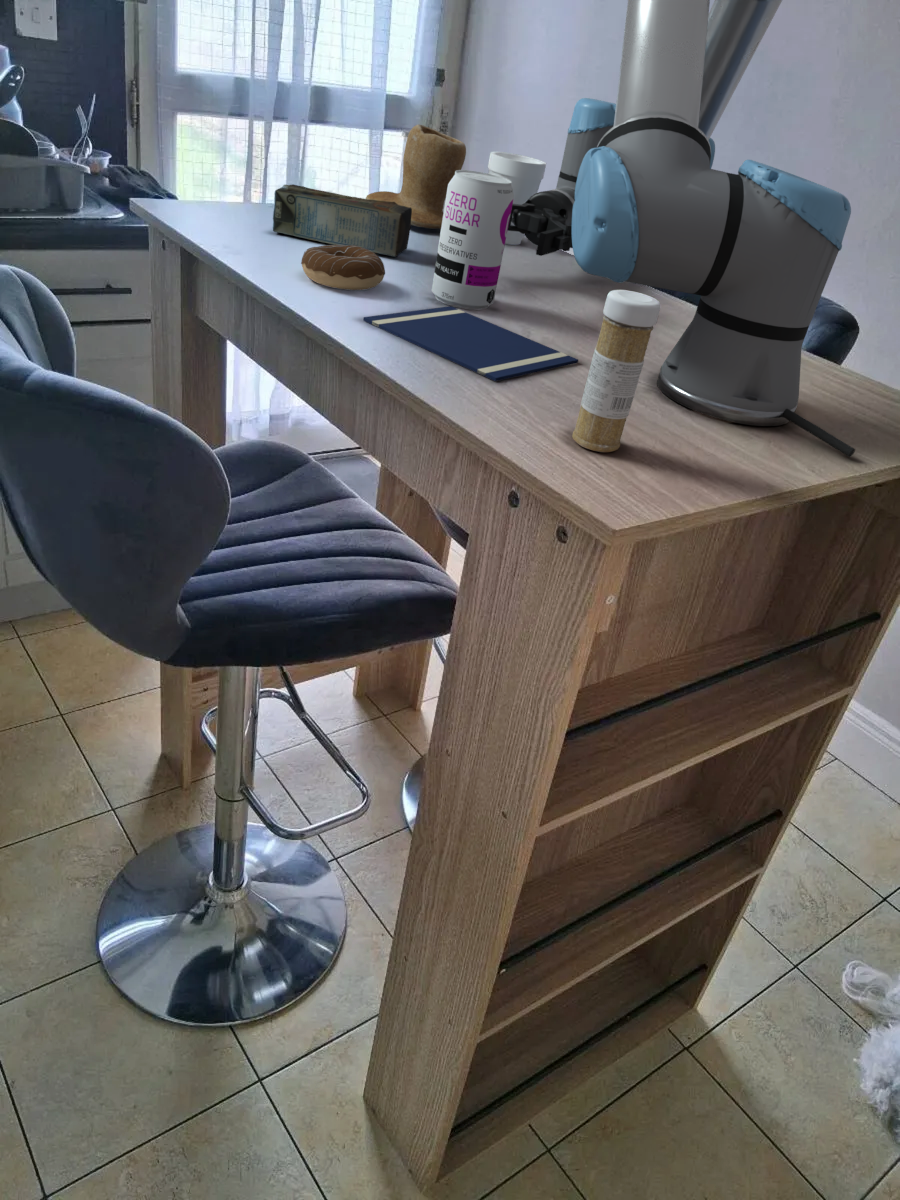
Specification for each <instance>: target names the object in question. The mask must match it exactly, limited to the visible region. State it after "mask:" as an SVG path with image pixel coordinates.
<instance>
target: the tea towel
mask: <svg viewBox="0 0 900 1200" xmlns="http://www.w3.org/2000/svg"><path fill="white" fill-rule="evenodd" d="M362 319H363V322H365V323H368V324H370V325H372V326H374V327H376V328H379V329H380V330H383V331H385V332H387V333H389V334H392V335H393V336H396V337H398V338H400V339H402V340H404V341H407V342H409V343H411V344H412V345H413V344H414V345H415V346H418V347H420V348H422V349H424V350H425V351H428V352H431V353H433V354H435V355H437V356H439V357H442V358H443V359H445V360H448V361H450V362H452V363H455V364H457V365H459V366H461V367H464V369H468V370H470V371H472V372H473V373H476V374H478V375H481V376H483V377H485V378H487V379H489V380H492V381H494V382H499V381H504V380H508V379H512V378H516V377H517V378H518V377H521V376H525V375H530V374H535V373H539V372H544V371H549V370H553V369H556V368H562V367H565V366H571V365H575V364H578V363H579V359H578V358H576V357H573V356H571V355H569V354H566V353H564V352H561V351H559V350H556V349H554V348H552V347H550V346H548V345H544V344H542V343H539V342H538V341H535V340H533V339H530V338H529V337H526V336H523V335H521V334H518V333H516V332H513V331H512V330H508V329H506V328H504V327H501V326H499V325H497V324H494V323H492V322H490V321H487V320H485V319H483V318H480V317H478V316H476V315H474V314H471V313H468V312H466V311H464V310H462V309H460V308H457V307H453V306H450V305H447V306H442V307H433V308H426V309H418V310H409V311H401V312H395V313H386V314H377V315H369V316H364V317H363V318H362Z"/></svg>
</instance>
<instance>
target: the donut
mask: <svg viewBox="0 0 900 1200" xmlns="http://www.w3.org/2000/svg"><path fill="white" fill-rule="evenodd" d="M300 264H301V267H302V270H303V272H304V274H305V275H306V276H307V278H309V279H310V280H312V281H313V282H315V283H317V284H319V285H321V286H324V287H325V286H326V287H329V288H334V289H338V290H344V291H345V290H346V291H364V290H371V289H373V288H376V287H377V286H379V285H380V284H381V282H382V281H383V280H384V277H385V275H386V269H385V268H386V267H385V264H384V262H383V261H382V259H381V257H379V255H378V254H377V253H374V252H372V251H370V250H368V249H365V248H362V247H358V246H354V245H334V244H325V245H324V244H323V245H319V246H310V247H309V248H307V249H306V250H305V251H304V252H303V255H302V257H301V261H300Z"/></svg>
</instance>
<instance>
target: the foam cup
mask: <svg viewBox="0 0 900 1200" xmlns="http://www.w3.org/2000/svg"><path fill="white" fill-rule="evenodd" d="M488 159H489V160H488V163H487V169H488V174H492V175H496V176H499V177H503V178H505V179H508V180H510V181H511V182H512V183H511V186H512V190H513V193H514V199H513V204H520V205H522V204H524V203H525V202H526V201H527V200H528V199H529V198H530V197H531V196H532V195H534V194H536V193H538V192H539V189H540V185H541V183H542V180H543V179H544V178H545V177H544V176H545V172H546V166H547V162H545V161H544V160H541V159H537V158H535V157H531V156H527V155H522V154H517V153H511V152H505V151H490V152H489V158H488ZM511 225H512V226H515V225H514V224H513V223H512V222H511ZM524 236H525V235H524V234H522V233H520V232H518V231H507V236H506V241H505V245H512V246H514V245H515V246H517V245H521V244H522V243H521V242H522V240H523V238H524Z"/></svg>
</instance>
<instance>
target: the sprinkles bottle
mask: <svg viewBox="0 0 900 1200" xmlns="http://www.w3.org/2000/svg"><path fill="white" fill-rule="evenodd" d="M603 306H604V307H603V310H602V313H603V316H602V323H601V327H600V331H599V335H598V339H597V342H596V345H595V348H594V350H593V354H592V359H591V362H590V365H589V369H588V374H587V378H586V382H585V386H584V389H583V394H582V398H581V401H580V408H579V412H578V416H577V420H576V424H575V428H574V429H573V431H572V435H571V436H572V439H573V440H574V442H575V443H576V444H577V445H579V446H581V447H583V448H585V449H587V450H591V451H594V452H599V453H612V452H615V451H617V450H619V448H620V447H621V438H622V435H623V432H624V429H625V424H626V422H627V418H628V417H629V414H630V411H631V408H632V404H633V400H634V398H635V394H636V390H637V387H638V385H639V380H640V377H641V374H642V370H643V367H644V363H645V356H646V352H647V350H648V345H649V341H650V338H651V334H652V331H653V330H654V326H656V324H657V321H658V317H659V314H660V311H661V302H660V301H659V300H658V299H656V298H655V297H652V296H651V295H648V294H645V293H641V292H638V291H633V290H626V289H613V290H610V291H609V292H608V294H607V296H606V299H605V302H604V305H603Z"/></svg>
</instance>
